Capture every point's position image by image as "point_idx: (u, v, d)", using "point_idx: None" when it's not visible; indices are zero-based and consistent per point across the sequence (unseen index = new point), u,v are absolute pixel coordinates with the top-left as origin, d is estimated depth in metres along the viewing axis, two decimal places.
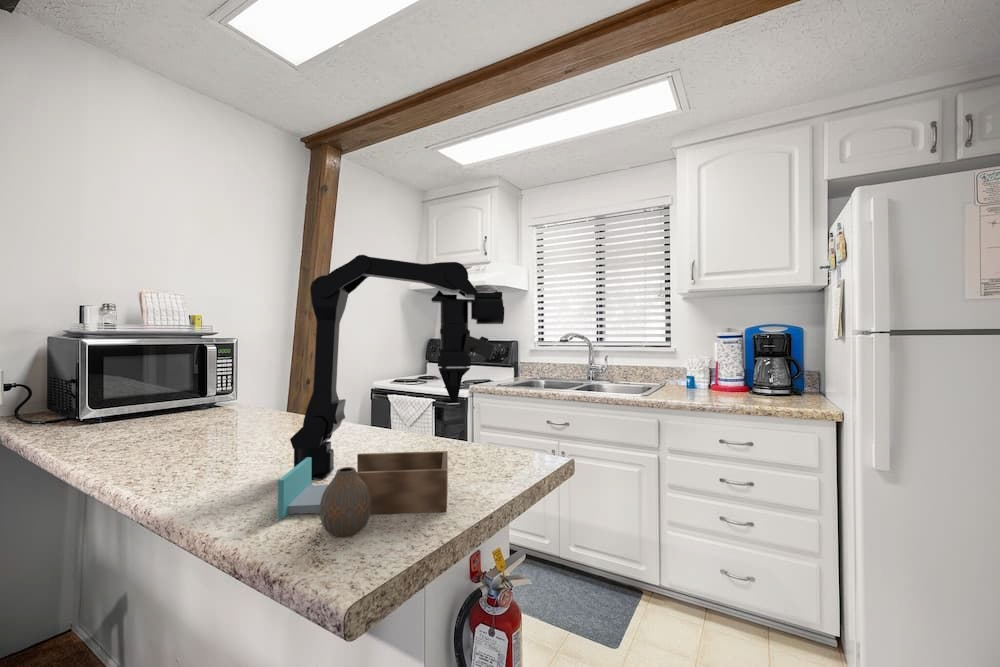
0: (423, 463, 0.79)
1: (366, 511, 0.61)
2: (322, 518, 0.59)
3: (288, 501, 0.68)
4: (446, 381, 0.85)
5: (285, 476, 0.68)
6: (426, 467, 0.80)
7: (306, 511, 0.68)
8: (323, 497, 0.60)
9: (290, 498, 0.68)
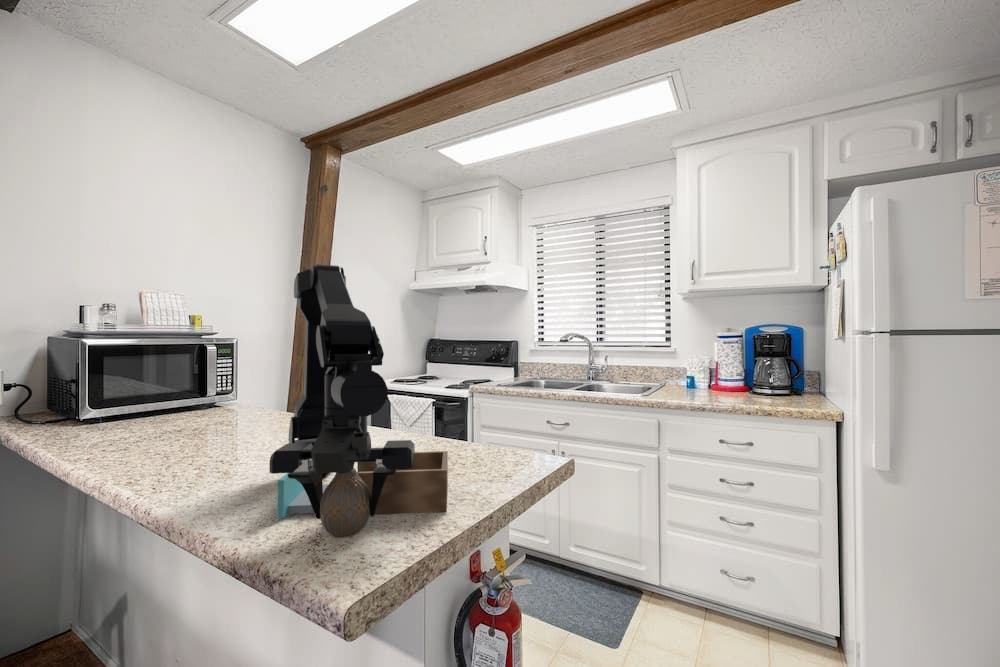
0: (423, 463, 0.79)
1: (366, 511, 0.61)
2: (322, 518, 0.59)
3: (288, 501, 0.68)
4: None
5: (285, 476, 0.68)
6: (426, 467, 0.80)
7: (306, 511, 0.68)
8: (323, 497, 0.60)
9: (290, 498, 0.68)
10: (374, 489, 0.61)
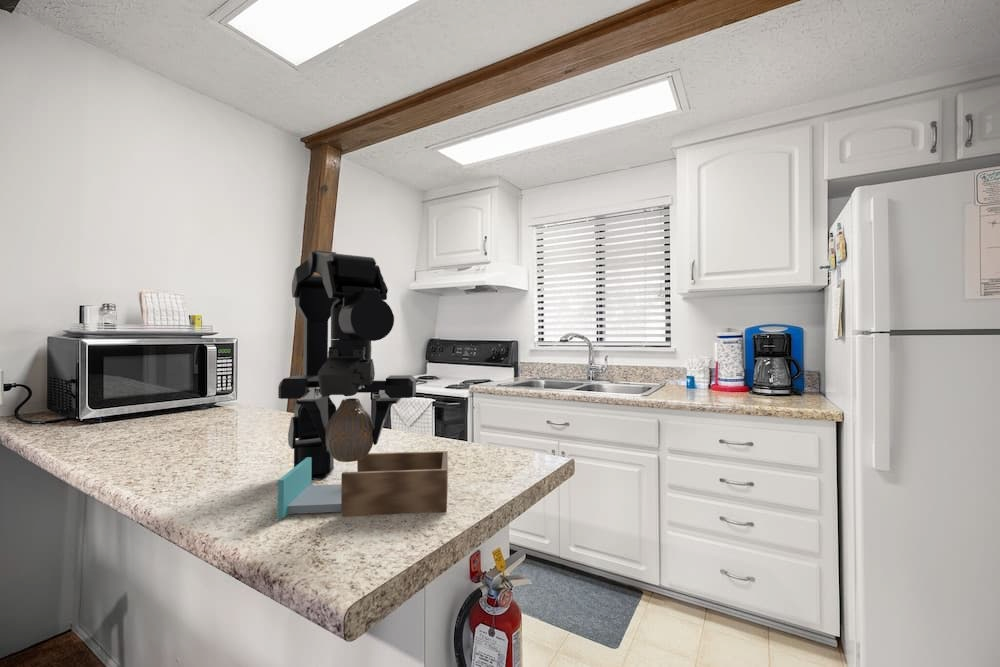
0: (423, 463, 0.79)
1: (370, 438, 0.64)
2: (328, 443, 0.63)
3: (288, 501, 0.68)
4: None
5: (285, 476, 0.68)
6: (426, 467, 0.80)
7: (306, 511, 0.68)
8: (329, 423, 0.63)
9: (290, 498, 0.68)
10: (377, 418, 0.64)
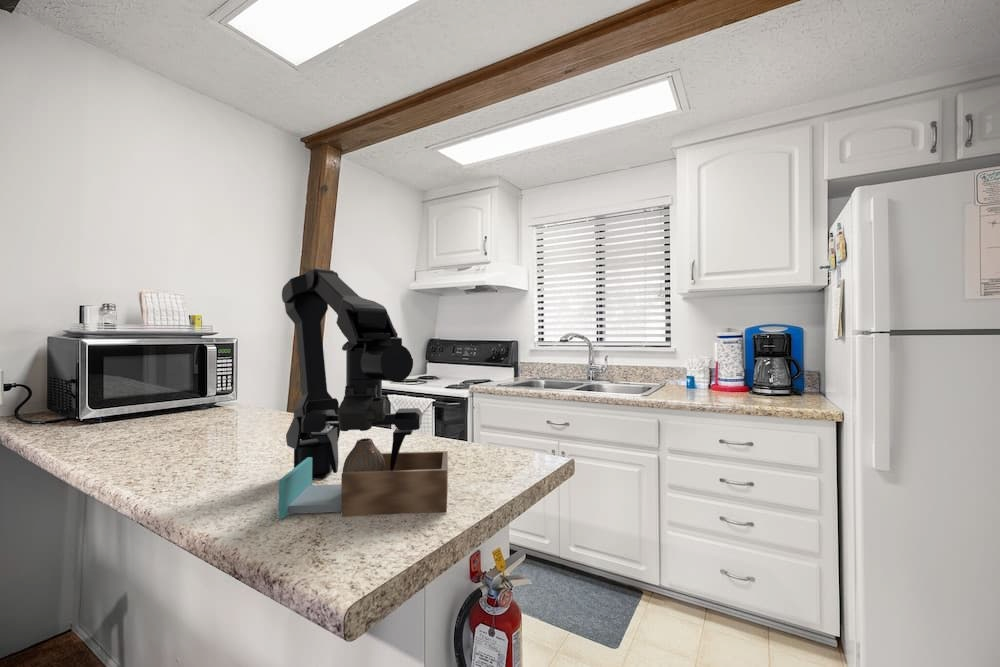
0: (423, 463, 0.79)
1: None
2: None
3: (289, 501, 0.68)
4: None
5: (286, 476, 0.68)
6: (426, 467, 0.80)
7: (307, 511, 0.68)
8: (346, 462, 0.71)
9: (291, 498, 0.68)
10: (394, 447, 0.73)
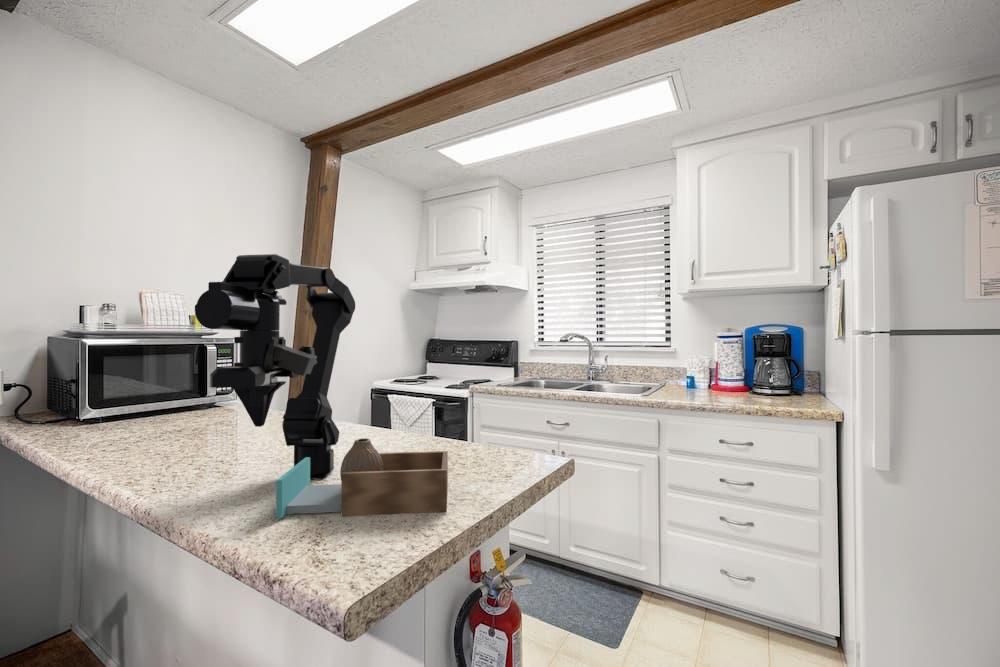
0: (423, 463, 0.79)
1: None
2: None
3: (287, 501, 0.68)
4: (245, 401, 0.70)
5: (283, 476, 0.67)
6: (426, 467, 0.80)
7: (304, 511, 0.68)
8: (343, 462, 0.71)
9: (288, 498, 0.68)
10: (269, 400, 0.73)
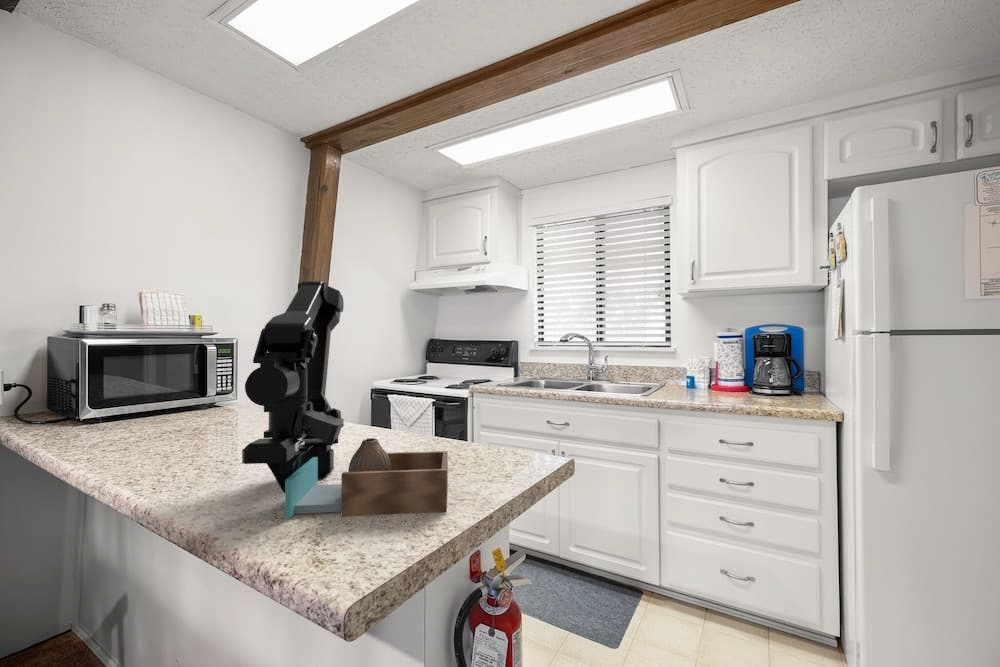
0: (423, 463, 0.79)
1: None
2: None
3: (295, 501, 0.68)
4: (274, 469, 0.70)
5: (292, 476, 0.68)
6: (426, 467, 0.80)
7: (313, 510, 0.68)
8: (351, 462, 0.72)
9: (297, 498, 0.69)
10: (297, 465, 0.73)
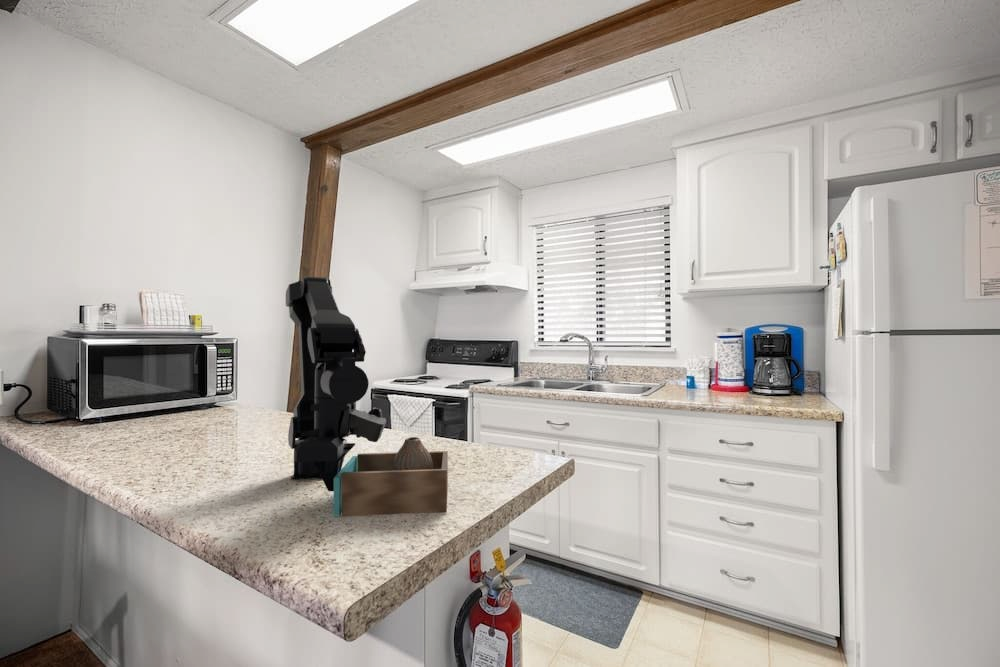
0: None
1: None
2: None
3: None
4: (319, 467, 0.71)
5: (339, 474, 0.68)
6: None
7: None
8: (395, 461, 0.72)
9: None
10: (341, 464, 0.74)
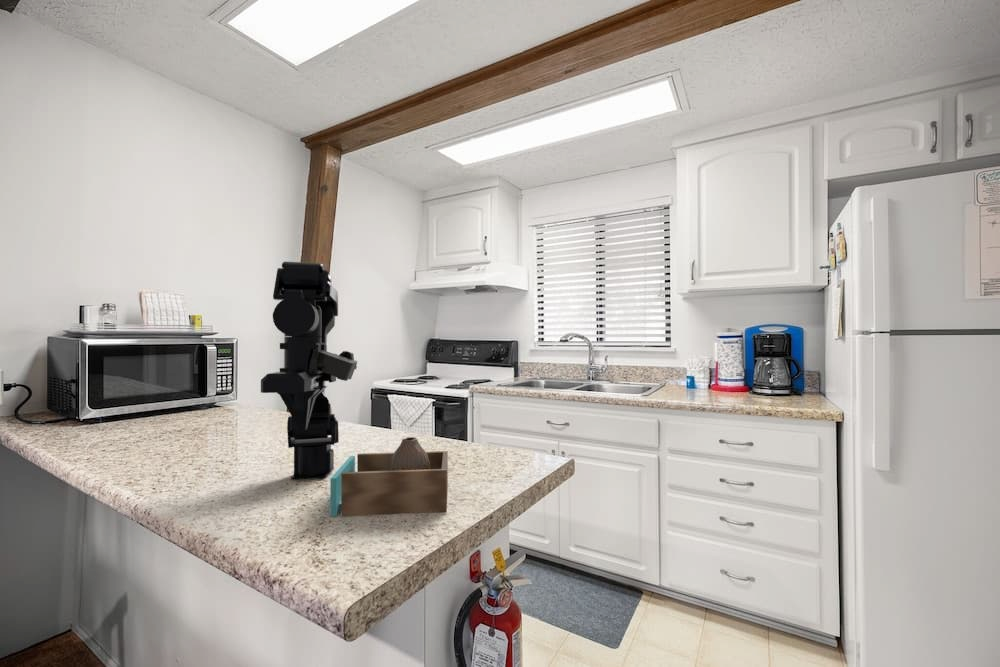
0: None
1: None
2: None
3: (339, 499, 0.69)
4: (289, 405, 0.72)
5: (336, 474, 0.68)
6: None
7: None
8: (392, 461, 0.72)
9: (340, 496, 0.69)
10: (312, 404, 0.74)
